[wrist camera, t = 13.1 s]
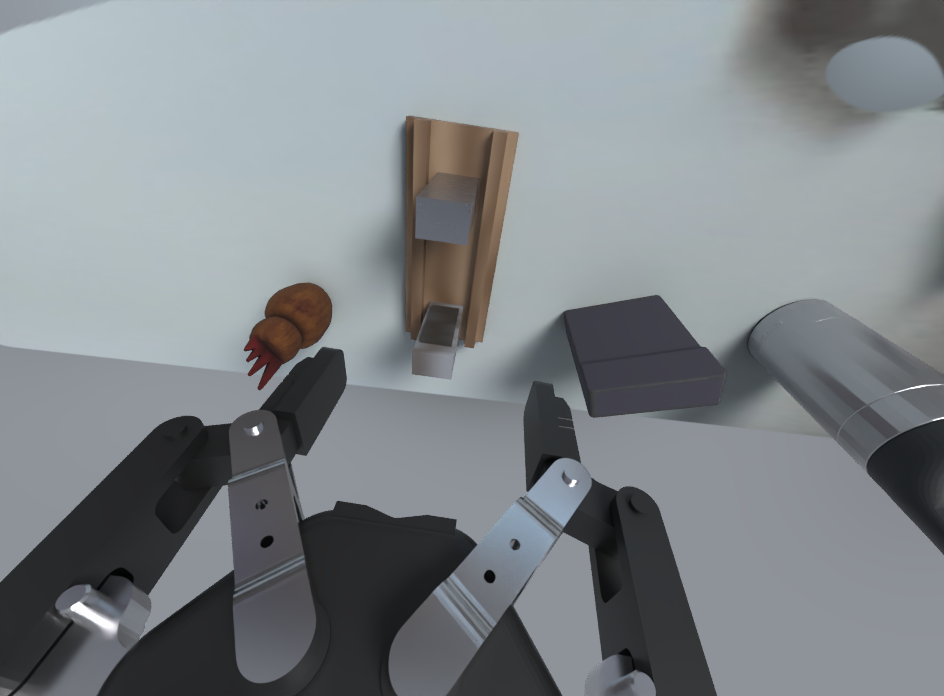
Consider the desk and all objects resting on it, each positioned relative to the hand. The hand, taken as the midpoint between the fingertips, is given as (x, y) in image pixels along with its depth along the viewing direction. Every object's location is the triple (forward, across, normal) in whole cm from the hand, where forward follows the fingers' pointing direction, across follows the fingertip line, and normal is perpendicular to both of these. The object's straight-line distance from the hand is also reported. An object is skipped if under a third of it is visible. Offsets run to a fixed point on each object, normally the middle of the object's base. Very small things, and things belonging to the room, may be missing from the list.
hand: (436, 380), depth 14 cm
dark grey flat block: (+27, -18, +9) cm, 33 cm away
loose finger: (+25, +2, -2) cm, 25 cm away
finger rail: (+26, +2, +4) cm, 27 cm away
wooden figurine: (+26, +20, +14) cm, 35 cm away
